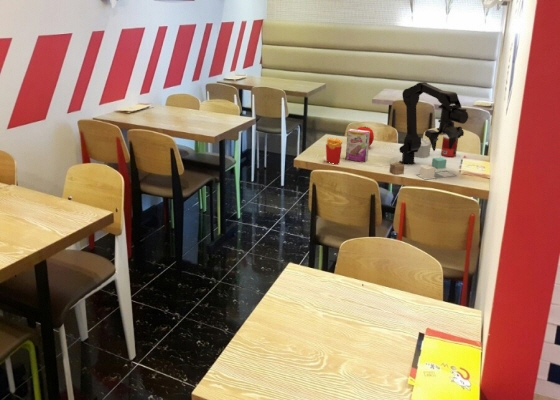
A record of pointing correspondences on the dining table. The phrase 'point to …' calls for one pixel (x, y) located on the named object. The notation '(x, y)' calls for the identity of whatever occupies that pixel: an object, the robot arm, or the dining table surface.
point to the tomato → (370, 133)
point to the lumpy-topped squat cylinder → (423, 149)
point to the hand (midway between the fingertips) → (441, 149)
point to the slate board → (439, 175)
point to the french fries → (333, 150)
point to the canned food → (445, 147)
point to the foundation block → (427, 171)
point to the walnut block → (396, 168)
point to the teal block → (439, 162)
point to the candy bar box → (357, 145)
